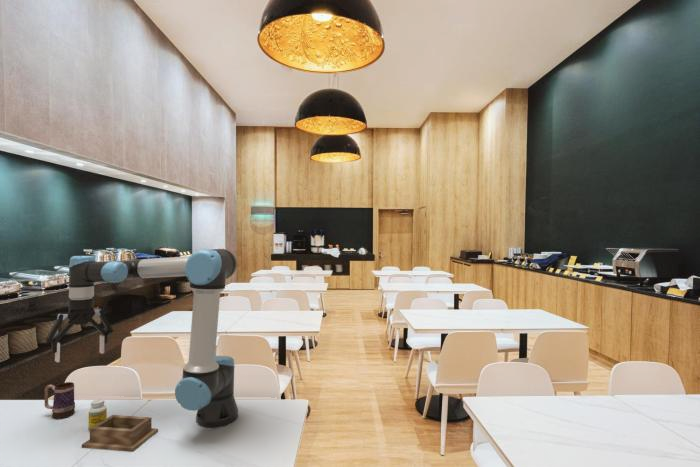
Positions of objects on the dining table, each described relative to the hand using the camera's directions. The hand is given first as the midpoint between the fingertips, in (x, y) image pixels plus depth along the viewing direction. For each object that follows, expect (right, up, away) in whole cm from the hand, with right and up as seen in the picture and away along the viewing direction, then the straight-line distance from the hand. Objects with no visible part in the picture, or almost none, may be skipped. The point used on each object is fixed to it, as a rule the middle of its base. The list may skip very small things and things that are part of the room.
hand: (80, 357), depth 138 cm
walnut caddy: (+20, -25, -9) cm, 33 cm away
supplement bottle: (+7, -25, -1) cm, 26 cm away
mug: (-14, -25, +8) cm, 30 cm away
